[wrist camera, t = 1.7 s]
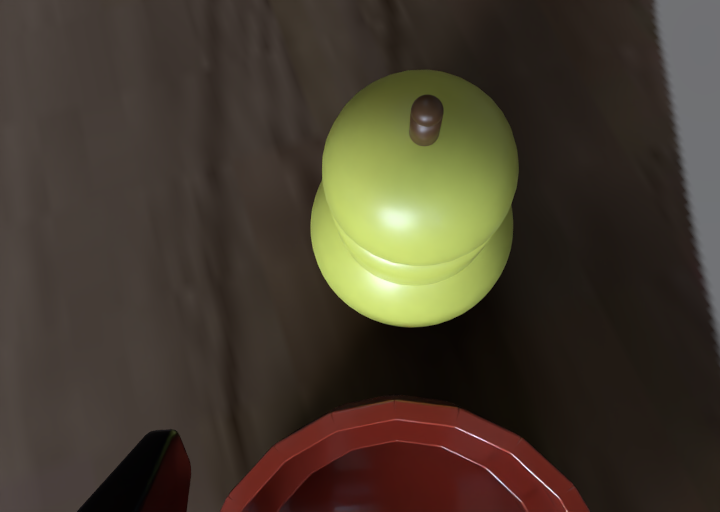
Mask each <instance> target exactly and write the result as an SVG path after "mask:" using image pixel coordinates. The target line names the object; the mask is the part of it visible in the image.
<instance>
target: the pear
mask: <svg viewBox="0 0 720 512" xmlns="http://www.w3.org/2000/svg"><path fill="white" fill-rule="evenodd" d="M518 174H519V164H518V151H517V147H516V144H515V140H514V137H513V133H512V130H511V127H510V125H509V123H508V122H507V120H506V118H505V116H504V114H503V112H502V111H501V110H500V109H499V107H498V106H497V105H496V104H495V102H494V101H493V100H492V99H491V98H490V97H489V96H488V95H487V94H485V93H484V92H483V91H482V90H480V89H479V88H478V87H477V86H475V85H473V84H471V83H469V82H467V81H466V80H464V79H462V78H460V77H457V76H454V75H451V74H448V73H445V72H441V71H433V70H409V71H404V72H400V73H395V74H391V75H388V76H386V77H384V78H381V79H379V80H377V81H374V82H373V83H371V84H370V85H368V86H367V87H365V88H364V89H362V90H361V91H359V92H358V93H357V94H356V95H355V96H354V97H353V98H352V99H351V100H350V101H349V102H348V103H347V104H346V105H345V107H344V108H343V109H342V111H341V112H340V114H339V115H338V117H337V118H336V120H335V122H334V123H333V125H332V128H331V130H330V132H329V135H328V137H327V139H326V143H325V148H324V153H323V158H322V179H323V180H322V181H321V183H320V185H319V188H318V191H317V193H316V196H315V200H314V204H313V208H312V214H311V240H312V246H313V251H314V254H315V257H316V260H317V263H318V266H319V268H320V270H321V272H322V274H323V276H324V278H325V279H326V281H327V283H328V284H329V286H330V287H331V288H332V290H333V291H334V292H335V293H336V294H337V295H338V297H339V298H341V299H342V300H343V301H344V302H345V303H346V304H347V305H348V306H350V307H351V308H353V309H354V310H356V311H357V312H359V313H360V314H362V315H364V316H366V317H368V318H370V319H372V320H375V321H378V322H381V323H383V324H387V325H392V326H397V327H410V328H411V327H425V326H431V325H436V324H440V323H443V322H446V321H449V320H451V319H453V318H455V317H457V316H460V315H462V314H463V313H465V312H466V311H468V310H469V309H471V308H472V307H474V306H475V305H476V304H477V303H478V302H479V301H481V300H482V299H483V298H484V297H485V296H486V294H487V293H488V292H489V291H490V290H491V289H492V287H493V286H494V284H495V283H496V281H497V280H498V278H499V277H500V275H501V273H502V271H503V269H504V267H505V265H506V263H507V260H508V257H509V253H510V250H511V244H512V239H513V214H512V207H511V203H512V200H513V197H514V194H515V191H516V189H517V181H518Z"/></svg>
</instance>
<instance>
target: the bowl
mask: <svg viewBox="0 0 720 512" xmlns="http://www.w3.org/2000/svg"><path fill="white" fill-rule="evenodd" d="M220 512H591V511H590V510H589V508H588V506H587V505H586V503H585V501H584V500H583V498H582V496H581V495H580V493H579V491H578V490H577V488H576V487H575V486H574V485H573V483H572V482H571V481H570V480H569V479H568V478H567V477H566V476H564V475H563V474H562V473H561V472H560V471H559V470H558V469H557V468H556V467H555V466H553V465H552V464H551V463H550V462H549V461H548V460H547V459H546V458H545V457H544V456H543V455H541V454H540V453H539V452H538V451H537V450H536V449H535V448H534V447H533V446H532V445H530V444H529V443H528V442H527V441H526V440H525V439H524V438H522V437H521V436H519V435H518V434H516V433H514V432H512V431H510V430H508V429H506V428H504V427H502V426H500V425H498V424H496V423H494V422H492V421H490V420H487V419H485V418H483V417H481V416H479V415H477V414H475V413H473V412H470V411H468V410H466V409H464V408H462V407H460V406H458V405H456V404H453V403H451V402H449V401H448V402H447V401H445V400H438V399H430V398H422V397H414V396H406V395H398V394H395V395H392V394H391V395H386V396H381V397H376V398H371V399H366V400H361V401H356V402H351V403H346V404H343V405H339V406H338V407H336V408H334V409H332V410H331V411H329V412H327V413H325V414H324V415H322V416H320V417H318V418H317V419H315V420H313V421H311V422H310V423H308V424H306V425H304V426H303V427H301V428H299V429H298V430H296V431H294V432H293V433H291V434H290V435H288V436H287V437H285V438H283V439H282V440H280V441H279V442H277V443H276V444H275V445H273V446H272V447H271V448H270V449H269V450H268V451H267V452H266V454H265V455H264V456H263V457H262V458H261V459H260V460H259V461H258V462H257V463H256V465H255V466H254V467H253V468H252V469H251V470H250V471H249V472H248V473H247V474H246V475H245V477H244V478H243V479H242V480H241V481H240V482H239V483H238V484H237V485H236V486H235V488H234V489H233V490H232V491H231V492H230V493H229V495H228V496H227V498H226V500H225V502H224V504H223V506H222V508H221V510H220Z"/></svg>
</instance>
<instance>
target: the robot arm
mask: <svg viewBox="0 0 720 512" xmlns="http://www.w3.org/2000/svg"><path fill="white" fill-rule="evenodd" d="M190 479H191V465H190V461H189V458H188V455H187V453H186V450H185V448H184V445H183V443H182V440H181V438H180V435H179V434H178V432H177V431H176V430H172V429H169V430H155V431H151V432H149V433H148V434H146V435H145V436H144V438H143V439H142V440H141V441H140V442H139V443H138V444H137V445H136V446H135V448H134V449H133V450H132V451H131V452H130V453H129V454H128V455H127V456H126V458H125V459H124V460H123V461H122V462H121V463H120V464H119V465H118V466H117V468H116V469H115V470H114V471H113V472H112V473H111V474H110V475H109V477H108V478H107V479H106V480H105V481H104V482H103V483H102V484H101V485H100V487H99V488H98V489H97V490H96V491H95V492H94V493H93V494H92V495H91V497H90V498H89V499H88V500H87V501H86V502H85V503H84V504H83V505H82V507H81V508H80V509H79V510H78V511H77V512H186V510H187V502H188V494H189V487H190Z"/></svg>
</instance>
